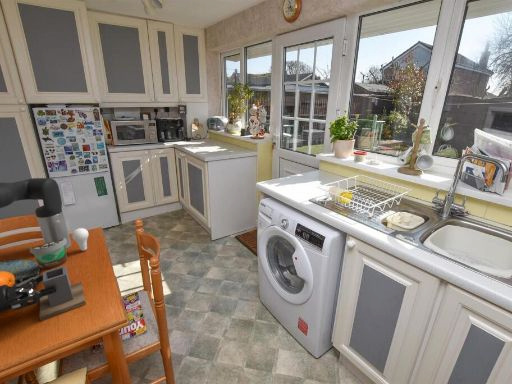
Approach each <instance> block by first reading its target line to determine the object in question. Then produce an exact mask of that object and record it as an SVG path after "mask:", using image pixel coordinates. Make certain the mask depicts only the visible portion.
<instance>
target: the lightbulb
mask: <svg viewBox="0 0 512 384" xmlns="http://www.w3.org/2000/svg"><path fill="white" fill-rule="evenodd" d="M71 238H72V240H73V241H74V242H76V243H77V245H78V247H79V249H80V251H82V252H85V251H86V250H87V249H88V243H87V242H88V238H89V231H88V230H87V229H86V228H82V227H79V228H76V229H75V230H73V232H72V233H71Z"/></svg>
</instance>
